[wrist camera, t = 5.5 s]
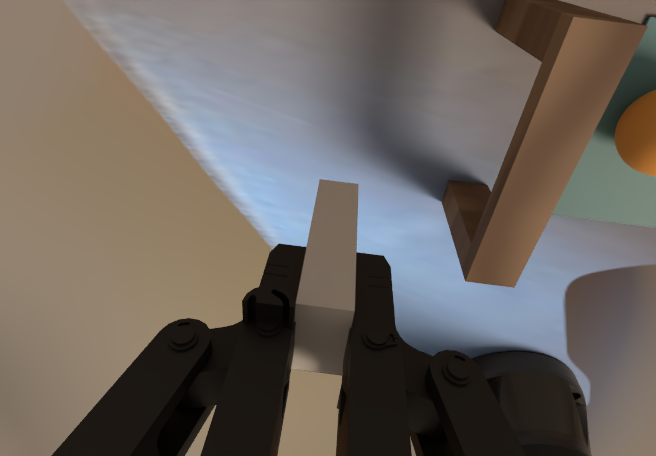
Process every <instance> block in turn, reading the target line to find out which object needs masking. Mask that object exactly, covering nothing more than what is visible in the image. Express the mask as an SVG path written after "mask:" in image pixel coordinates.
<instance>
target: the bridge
mask: <svg viewBox="0 0 656 456" xmlns="http://www.w3.org/2000/svg"><path fill="white" fill-rule="evenodd" d="M647 28H648V26H646V25H643V24H639V23H636V22H632V21H629V20H625V19H622V18H618V17H615V16H611V15H608V14H604V13H601V12H597V11H594V10H590V9H587V8H583V7H580V6H576V5H573V4H569V3H566V2H562V1H559V0H505V2H504V6H503V9H502V12H501V15H500V18H499V22H498V25H497V28H496V32H497V33H499V34H500V35H502V36H503V37H505V38H506V39H508V40H509V41H511V42H512V43H514V44H515V45H517V46H519V47H520V48H522V49H523V50H525V51H526V52H528V53H529V54H531V55H532V56H534V57H535V58H537V59H538V60H540V61H541V62H542V64H541V67H540V69H539V72H538V74H537V77H536V80H535V82H534V85H533V87H532V90H531V92H530V95H529V97H528V100H527V103H526V105H525V108H524V110H523V113H522V115H521V118H520V120H519V123H518V125H517V128H516V131H515V133H514V136H513V138H512V141H511V143H510V146H509V148H508V151H507V154H506V156H505V159H504V161H503V164H502V166H501V169H500V171H499V174H498V177H497V179H496V182H495V184H494V187H493V189H492V192H491V191H490V189H489V187H488V185H481V184H473V183H465V182H457V181H448V184H447V188H446V191H445V194H444V197H443V200H442V205H443V208H444V211H445V215H446V218H447V221H448V225H449V228H450V231H451V235H452V238H453V241H454V245H455V248H456V251H457V255H458V258H459V262H460V265H461V268H462V272H463V275H464V278H465V281H467V282H475V283H483V284H491V285H499V286H507V287H515V285H516V283H517V281H518V279H519V277H520V275H521V273H522V271H523V269H524V267H525V265H526V263H527V261H528V259H529V258H530V256H531V254H532V252H533V250H534V248H535V246H536V244H537V242H538V240H539V238H540V236H541V234H542V232H543V230H544V228H545V226H546V224H547V222H548V221H549V219H550V217H551V215H552V213H553V211H554V209H555V207H556V205H557V203H558V201H559V199H560V197H561V195H562V193H563V191H564V189H565V187H566V185H567V183H568V182H569V180H570V178H571V176H572V174H573V172H574V170H575V168H576V166H577V164H578V162H579V160H580V158H581V156H582V154H583V152H584V150H585V148H586V146H587V145H588V143H589V141H590V139H591V137H592V135H593V133H594V131H595V129H596V127H597V125H598V123H599V121H600V119H601V117H602V115H603V113H604V111H605V109H606V107H607V106H608V104H609V102H610V100H611V98H612V96H613V94H614V92H615V90H616V88H617V86H618V84H619V82H620V80H621V78H622V76H623V74H624V72H625V70H626V69H627V67H628V65H629V63H630V61H631V59H632V57H633V55H634V53H635V51H636V49H637V47H638V45H639V43H640V41H641V39H642V37H643V35H644V33H645V31H646V30H647Z"/></svg>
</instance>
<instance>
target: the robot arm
mask: <svg viewBox="0 0 656 456" xmlns="http://www.w3.org/2000/svg"><path fill="white" fill-rule="evenodd" d="M357 214H358V184H353V183H345V182H337V181H329V180H321V179H320V181H319V186H318V191H317V197H316V202H315V207H314V212H313V217H312V222H311V227H310V233H309V238H308V243H307V247H301V246H293V245H285V244H278V245H277V246H276V247H275V248H274V249H273V250H272V251H271V252H270V254H269V257H268V260H267V263H266V267H265V270H264V274H263V276H262V279H261V283H260V286H259V287H258V288H255V289H253V290H251V291H250V292H248V293H247V294H246V296H245V297H244V299H243V301H242V306H243V320H242V321H240V322H239V323H236V324H234V325H231V326H227V327H221V328H214V329H209V328H208V327H207V325H206V324H205V323H203V322H201V321H200V320H196V319H190V318H187V319H180V320H177V321H174V322H172V323H170V324H168V325H167V326H165V327H164V328H163V329H162V330H161V331H160V332H159V333H158V334H157V335H156V336H155V338H154V339H153V340H152V341H151V342H150V343H149V345H148V346H147V347H146V348H145V349H144V350H143V351H142V352H141V354H140V355H139V356H138V357H137V358H136V359H135V360H134V362H133V363H132V364H131V365H130V366H129V367H128V368H127V370H126V371H125V372H124V373H123V374H122V375H121V377H120V378H119V379H118V380H117V381H116V382H115V384H114V385H113V386H112V387H111V388H110V389H109V390H108V391H107V393H106V394H105V395H104V396H103V397H102V398H101V400H100V401H99V402H98V403H97V404H96V405H95V406H94V408H93V409H92V410H91V411H90V412H89V413H88V414H87V416H86V417H85V418H84V419H83V420H82V422H80V424H79V425H78V426H77V427H76V428H75V429H74V431H73V432H72V433H71V434H70V435H69V436H68V437H67V439H66V440H65V441H64V442H63V443H62V444H61V446H60V447H59V448H58V449H57V450H56V451H55V452H54V453H53V455H52V456H185V454H186V453H187V451H188V449H189V448H190V446H191V444H192V443H193V441H194V439H195V438H196V436H197V434H198V433H199V431H200V429H201V428H202V426H203V424H204V422H205V421H206V419H207V418H208V416H209V415H210V413H211V411H212V410H213V408H214V406H215V405H217V406H216V409H215V412H214V415H213V418H212V421H211V425H210V428H209V431H208V434H207V437H206V440H205V443H204V446H203V450H202V453H201V456H277V454H278V448H279V443H280V436H281V431H282V425H283V419H284V413H285V407H286V401H287V396H288V390H289V378H290V372H291V369H296V370H304V371H311V372H320V373H328V374H335V375H342V385H341V390H340V395H339V400H338V405H337V408H338V409H339V414H338V431H337V448H336V456H412V455H411V444H410V437H411V440H412V444H413V447H414V450H415V453H416V456H592V455H591V450H590V440H589V430H588V421H587V410H586V402H585V397H584V394H583V391H582V389H581V387H580V385H579V383H578V381H577V379H576V377H575V375H574V373H573V372H572V371H571V370H570V369H569V368H568V367H567V366H566V365H565V364H563V363H562V362H560V361H558V360H556V359H554V358H551V357H548V356H545V355H541V354H536V353H529V352H502V353H495V354H490V355H485V356H481V357H478V358H475V359H470V358H469V357H468V356H467V355H465V354H462V353H460V352H457V351H450V350H445V351H441V352H438V353H437V354H436V355H435V356H431V355H428V354H426V353H423V352H421V351H418V350H416V349H415V348H413V347H411V346H409V345H408V344H407V343H406V342H404V341H403V339H402V338H401V337H400V336H399V334H398V332H397V330H396V326H395V317H394V304H393V291H392V281H391V267H390V265H389V264H388V262H387V260H386V259H385V257H384V256H381V255H373V254H365V253H357V252H356V249H357ZM342 372H343V373H342Z"/></svg>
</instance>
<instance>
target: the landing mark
mask: <svg viewBox="0 0 656 456" xmlns="http://www.w3.org/2000/svg"><path fill="white" fill-rule="evenodd" d="M645 25H646V26H648V28H647V30H646V31H645V33H644V35H643V37H642V39H641V41H640V43H639V45H638V47H637V49H636V51H635V53H634V55H633V57H632V59H631V61H630V63H629V65H628V67H627V69H626V70H625V72H624V74H623V76H622V78H621V80H620V82H619V84H618V86H617V88H616V90H615V92H614V94H613V96H612V98H611V100H610V102H609V104H608V106H607V107H606V109H605V111H604V113H603V115H602V117H601V119H600V121H599V123H598V125H597V127H596V129H595V131H594V133H593V135H592V137H591V139H590V141H589V143H588V145H587V146H586V148H585V150H584V152H583V154H582V156H581V158H580V160H579V162H578V164H577V166H576V168H575V170H574V172H573V174H572V176H571V178H570V180H569V182H568V183H567V185H566V187H565V189H564V191H563V193H562V195H561V197H560V199H559V201H558V203H557V205H556V207H555V209H554V211H553V213H552V215H558V216H566V217H574V218H582V219H590V220H598V221H606V222H614V223H622V224H630V225H638V226H646V227H654V228H656V176H651V175H647V174H644V173H641V172H639V171H636V170H634V169H633V168H631V167H630V166H629V165H628V164H626V163H625V162H624V161H623V160H622V158H621V157H620V155H619V154H618V151H617V149H616V145H615V130H616V126H617V124H618V121H619V119H620V117H621V116H622V114H623V113H624V112H625V110H626V109H627V108H628V107H629V106H630V105H631V104H632V103H633V102H634V101H636V100H637V99H638V98H640V97H641V96H643V95H645V94H647V93H649V92H651V91H653V90H656V17H648V19H647V21H646V23H645Z"/></svg>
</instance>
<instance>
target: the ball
mask: <svg viewBox="0 0 656 456" xmlns="http://www.w3.org/2000/svg"><path fill="white" fill-rule="evenodd" d="M615 145H616V149H617V151H618V154H619V155H620V157H621V158H622V160H623V161H624V162H625V163H626V164H628V165H629V166H630V167H631V168H633V169H634V170H636V171H639V172H641V173H644V174H647V175H651V176H656V90H653V91H651V92H649V93H647V94H645V95H643V96H641V97H640V98H638V99H637V100H636V101H634V102H633V103H632V104H631V105H630V106H629V107H628V108H627V109H626V110H625V112H624V113H623V114H622V116H621V117H620V119H619V121H618V124H617V126H616V130H615Z"/></svg>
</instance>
